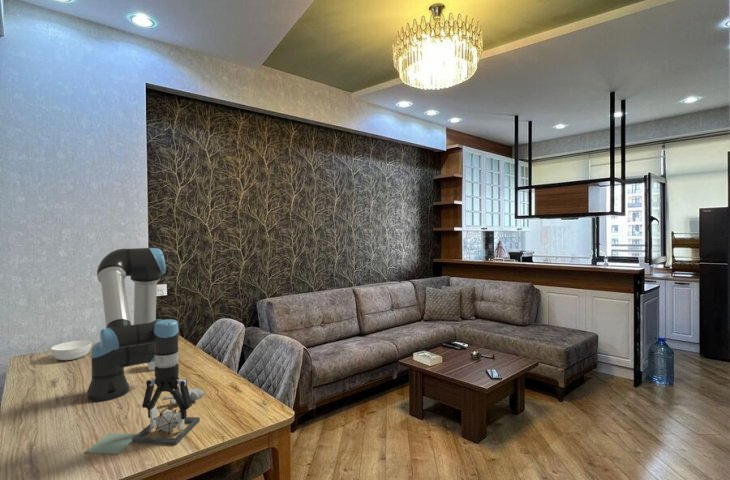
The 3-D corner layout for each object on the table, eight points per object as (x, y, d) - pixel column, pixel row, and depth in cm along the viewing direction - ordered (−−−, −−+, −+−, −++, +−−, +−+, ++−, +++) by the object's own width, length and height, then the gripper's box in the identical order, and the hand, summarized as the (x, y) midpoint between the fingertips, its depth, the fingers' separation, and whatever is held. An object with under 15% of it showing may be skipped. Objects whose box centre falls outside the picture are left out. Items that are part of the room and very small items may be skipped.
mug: (143, 369, 193) (142, 349, 193) (158, 363, 201) (158, 344, 201) (158, 372, 189) (158, 352, 189) (173, 366, 197) (173, 347, 197)
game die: (164, 440, 135) (162, 411, 140) (187, 431, 135) (184, 402, 140) (149, 440, 127) (147, 409, 132) (173, 430, 128) (170, 400, 132)
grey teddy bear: (208, 389, 160) (173, 397, 148) (207, 401, 160) (171, 410, 148) (196, 383, 166) (161, 391, 154) (195, 395, 166) (160, 404, 154)
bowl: (98, 356, 214) (98, 343, 214) (58, 366, 198) (58, 352, 198) (84, 350, 224) (83, 338, 224) (45, 359, 208) (45, 346, 208)
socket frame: (132, 443, 127) (132, 438, 126) (160, 419, 142) (160, 416, 142) (176, 444, 125) (176, 440, 125) (199, 421, 141) (199, 417, 141)
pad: (85, 452, 121) (85, 451, 121) (110, 434, 132) (110, 433, 132) (117, 454, 120) (117, 452, 120) (140, 435, 131) (140, 434, 131)
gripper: (129, 367, 130) (130, 431, 131) (191, 369, 129) (192, 434, 129) (143, 360, 138) (144, 420, 138) (202, 361, 136) (203, 422, 137)
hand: (167, 427), depth 134 cm, fingers open, 9 cm apart
